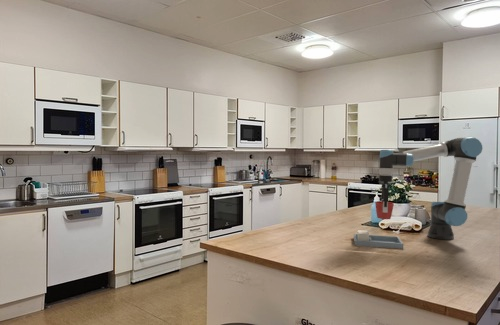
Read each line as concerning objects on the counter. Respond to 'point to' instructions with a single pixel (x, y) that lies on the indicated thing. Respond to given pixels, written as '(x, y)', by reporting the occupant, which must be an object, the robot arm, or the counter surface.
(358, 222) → the counter surface
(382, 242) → the grey tray
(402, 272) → the counter surface
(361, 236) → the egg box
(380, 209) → the flower pot
